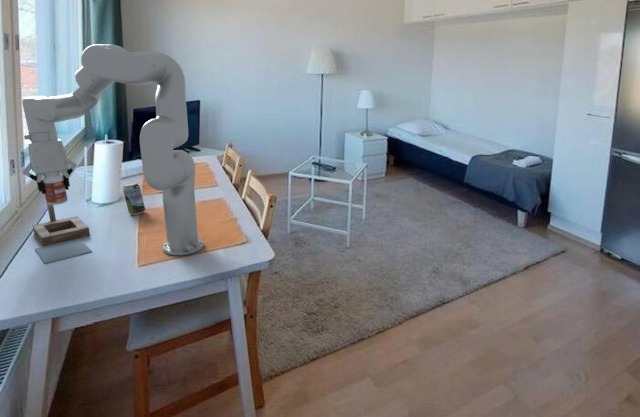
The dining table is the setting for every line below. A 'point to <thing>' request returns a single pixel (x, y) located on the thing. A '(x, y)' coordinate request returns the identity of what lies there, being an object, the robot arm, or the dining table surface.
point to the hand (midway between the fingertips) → (55, 190)
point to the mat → (62, 250)
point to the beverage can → (133, 198)
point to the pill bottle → (54, 188)
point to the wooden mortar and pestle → (67, 234)
